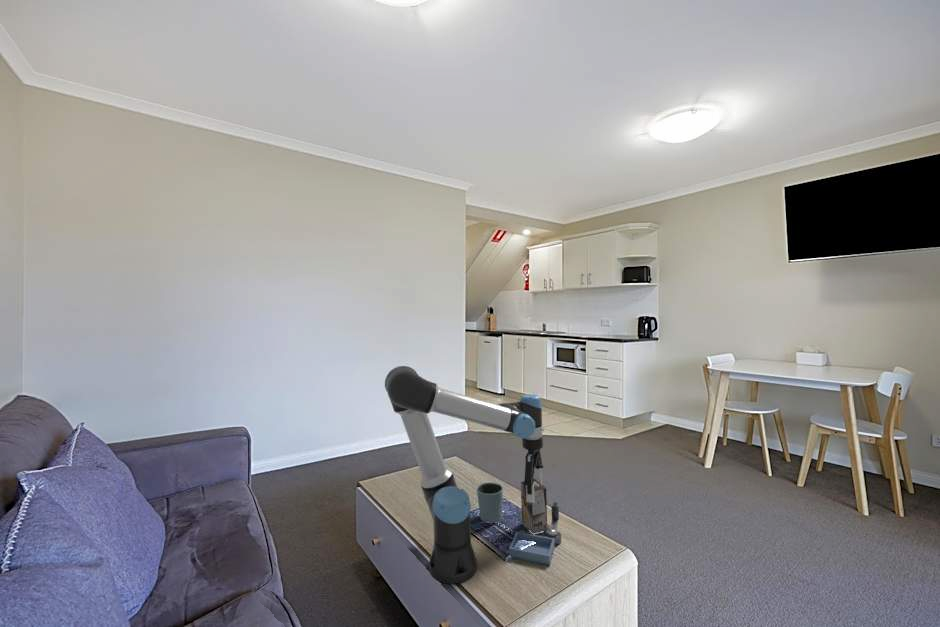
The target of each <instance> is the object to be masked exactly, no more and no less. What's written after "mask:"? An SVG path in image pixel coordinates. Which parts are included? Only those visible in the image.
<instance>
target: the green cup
mask: <svg viewBox="0 0 940 627" xmlns="http://www.w3.org/2000/svg"><path fill="white" fill-rule="evenodd" d="M476 493H477V503H478V507H479V509H478V512H479V519H480V518H481V519H480V521H481V520H483V521H485V522H489V523H495V522H498V523H500V522H501V521H502V520H501V519H503V495H504V494H503V493H504V487H503V485H501V484H499V483H497V482H484V483H481V484H479V485H477V487H476ZM500 520H501V521H500ZM499 521H500V522H499ZM495 524H496V523H495Z"/></svg>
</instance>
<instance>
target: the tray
mask: <svg viewBox="0 0 940 627" xmlns="http://www.w3.org/2000/svg"><path fill="white" fill-rule="evenodd" d="M518 539H519V540H526V541H534V542H536V544H534V545H531V546H528V547H527V548H525V549H523V550H521V549H516V548H514V547H515V545H516V543H517V541H518ZM555 547H556V545H555V539H554V538H548V537H543V535H538V534H537V535H532V534H531V533H525V532H519V531H516V532H515V534H514V537H513V538H512V541H511V543H510V545H509V547H508V554H509V555H510V556H511V558H512V559H515V560H516V559H517V560H520V561H526V562H529V563H535V564H540V565H543V566H544V565H545V566H550V565H551V562H552V558H553V555H554V552H555Z"/></svg>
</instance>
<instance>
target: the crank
mask: <svg viewBox="0 0 940 627" xmlns="http://www.w3.org/2000/svg"><path fill="white" fill-rule="evenodd" d="M550 507H551V508H550V509H551V522H550V526H547V528H546V535H547V536H550V537H556V536H557V535H558V532H559V531H558V530H559V529H558V528H557V527H558V524H559V519H560V510H559V509H560V507H559V504H558V502H556V501H554V502H553V503H552V505H551V506H550Z"/></svg>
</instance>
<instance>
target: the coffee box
mask: <svg viewBox="0 0 940 627" xmlns="http://www.w3.org/2000/svg"><path fill="white" fill-rule="evenodd" d="M523 482H524V480H523V481H520V497H521V498H520V500H521V501H520V502H521V505H520V506H521V524H522V523H523V524H524V525H525V526H526V527H527V528H528V529H529V530H530V531H531V532H532V533H536V532H540V531H545V530H546V528H547V527H548V509H547V508H548V507H547V506H548V505H547V502H548V500H547V487H546V486H544V485H543V484H542V485H541V484H540V483H539V482H538V481H536V480H535V479H534V478H533V484H534V503H530V502H527V500H526V485H524V484H523ZM523 524H522V525H523ZM524 525H523V526H524ZM525 526H524V527H525ZM526 527H525V528H526ZM527 528H526V529H527ZM528 529H527V530H528Z"/></svg>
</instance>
